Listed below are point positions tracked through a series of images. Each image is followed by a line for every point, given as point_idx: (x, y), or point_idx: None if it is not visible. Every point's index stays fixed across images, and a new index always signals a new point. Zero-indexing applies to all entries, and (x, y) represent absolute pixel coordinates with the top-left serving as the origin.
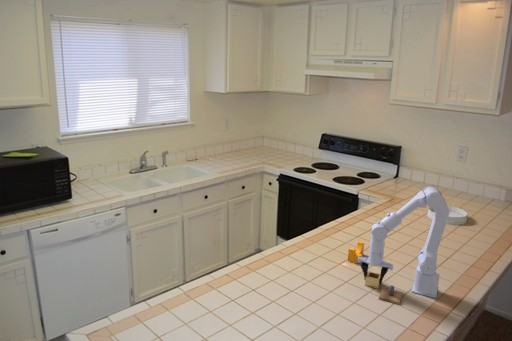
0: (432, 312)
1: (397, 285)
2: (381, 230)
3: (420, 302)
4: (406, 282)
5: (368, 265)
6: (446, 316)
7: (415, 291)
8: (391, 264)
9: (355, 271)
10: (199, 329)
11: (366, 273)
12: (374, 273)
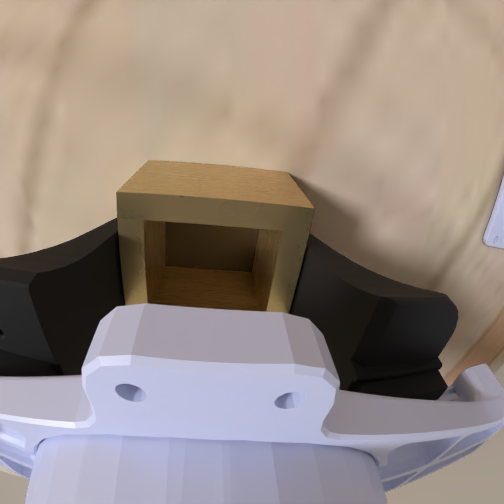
0: (476, 357)
1: (426, 171)
2: None
3: (474, 317)
4: (484, 103)
5: (69, 264)
6: (500, 352)
7: (499, 240)
8: (495, 418)
9: (24, 59)
10: (4, 468)
11: (115, 304)
12: (209, 223)
